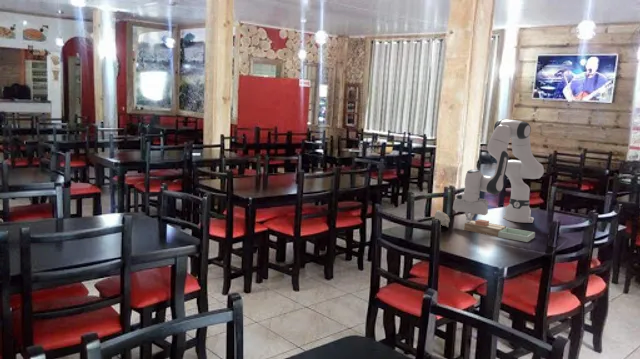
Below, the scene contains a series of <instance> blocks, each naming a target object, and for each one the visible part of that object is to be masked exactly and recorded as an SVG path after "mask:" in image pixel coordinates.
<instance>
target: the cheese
mask: <svg viewBox="0 0 640 359" xmlns="http://www.w3.org/2000/svg"><path fill="white" fill-rule="evenodd" d="M435 219H439V220H441V225H442V226H441V227H443V226H444V227H445V228H449V223H450V222H451V221H450V220H451V219H450V217H449V215H448V214H446V213H445V212H443V211H442V210H440V209H438V210H436V211H435V213H434V220H435Z"/></svg>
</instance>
